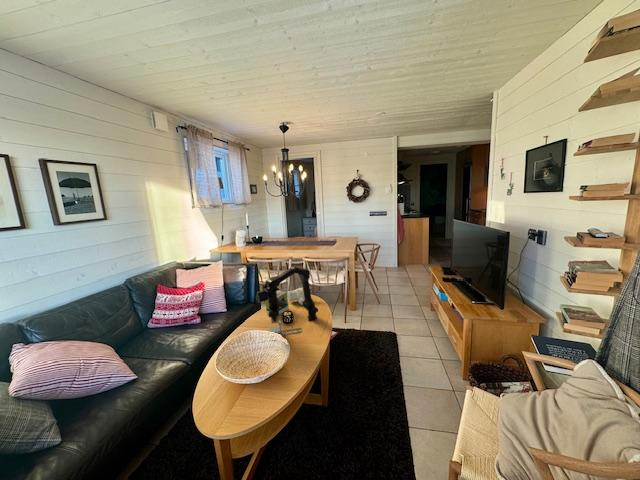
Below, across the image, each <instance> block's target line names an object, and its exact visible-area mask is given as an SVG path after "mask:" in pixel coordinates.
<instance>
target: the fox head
mask: <svg viewBox="0 0 640 480" xmlns="http://www.w3.org/2000/svg"><path fill="white" fill-rule="evenodd" d="M311 289H312V286H310V290H311ZM287 298H288V302H291V303H292V302H295V301H296V302H298V304H300V305H301V306H303V303H302V302H303V301H304V300H305V297H304V291H303V287H299V288H296V289H294V290H288V291H287Z"/></svg>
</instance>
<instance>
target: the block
mask: <svg viewBox="0 0 640 480" xmlns="http://www.w3.org/2000/svg"><path fill="white" fill-rule="evenodd" d="M270 318H271V317H270ZM279 320H280V319H279V316H277V317H276V322H274V321H273V319H272V318H271V324H276V323H278V324H279Z"/></svg>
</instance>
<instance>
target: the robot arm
mask: <svg viewBox="0 0 640 480" xmlns="http://www.w3.org/2000/svg"><path fill="white" fill-rule="evenodd" d="M310 272H311V271H310V270H309V269H306V268H304V267H300V268H299V267H296V266H294V265H293V266H291V267H289V268H288V269H286V270H285V271H283V272H281V273H280V274H278V275H276V276H272V277H268V278H267V279H265V283H264V285H263V287H262V290H261V291H260V290H259V291H257V292H256V294H255V300H256V302H257V303H258V304H260V303H262V302H265V301H266V300H268V302H269V309H270V311H269V315H268V317H269V318H272V319H273V321H274V322H276V317H277V316H278V317H279V316H280V315H279V310H278V308H279V307H283V308H285V307H286V304H287V302H286V300H284V298H281V299H280V300H278V298H277V291H278V290H279V291H281V290H280V288H278V287H279V286H280V285H281V283H282V282H283V281H285V280H287V279H288V278H290V277H292V276H293V275H295V274H297V275H298V277H299V279H300V280H301V284H302V288H303V291H304V297H305V300H304V301H303V302H302V303H303V305H302V307H303V309H305V310H306V311H307V313H308V314H307V321H308V322H309V321H310V322H312V321H317V320H318V316H317V313H318V312H319V308H318V307H316V304H315V301H314V300H313V298H312V293H311V289H310V287H311V286H310V282H309V281H310V277H311V273H310Z"/></svg>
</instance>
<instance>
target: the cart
mask: <svg viewBox="0 0 640 480" xmlns="http://www.w3.org/2000/svg"><path fill="white" fill-rule="evenodd" d="M281 330H282V321H281V320H280V319H279V322H278V326H273V327H269V328H268V332H269V331H270V332H275V333H278V334H281Z"/></svg>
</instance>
